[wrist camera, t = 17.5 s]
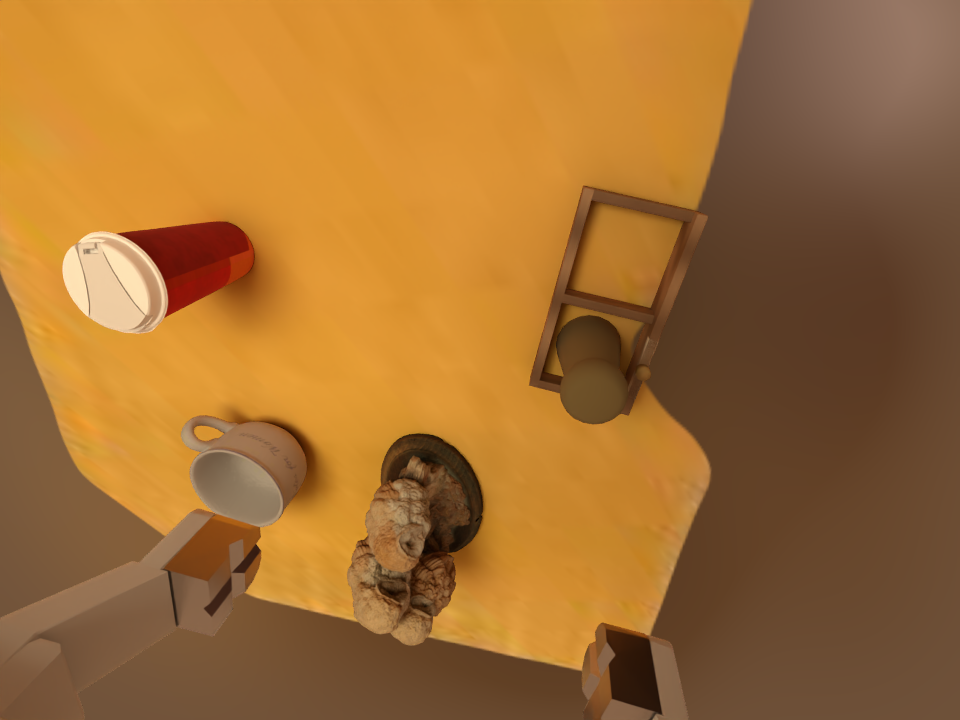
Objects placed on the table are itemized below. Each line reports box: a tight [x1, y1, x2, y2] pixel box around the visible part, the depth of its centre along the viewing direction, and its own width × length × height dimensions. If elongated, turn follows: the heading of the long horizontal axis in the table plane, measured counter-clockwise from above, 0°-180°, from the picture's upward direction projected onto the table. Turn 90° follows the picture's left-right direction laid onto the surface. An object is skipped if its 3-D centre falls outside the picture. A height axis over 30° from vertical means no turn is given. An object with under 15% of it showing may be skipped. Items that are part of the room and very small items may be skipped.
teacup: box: [181, 415, 307, 527], centre depth 52 cm, size 14×11×8 cm
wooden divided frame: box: [529, 186, 708, 416], centre depth 41 cm, size 18×10×4 cm, turn 169°
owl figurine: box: [347, 434, 483, 646], centre depth 48 cm, size 18×12×17 cm, turn 13°
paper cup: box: [63, 222, 254, 333], centre depth 40 cm, size 8×8×14 cm
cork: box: [556, 315, 629, 424], centre depth 40 cm, size 6×6×11 cm
